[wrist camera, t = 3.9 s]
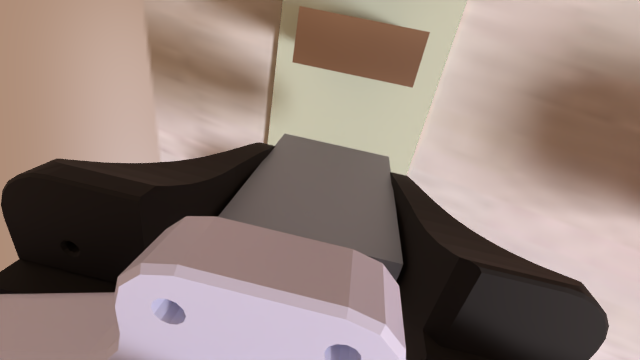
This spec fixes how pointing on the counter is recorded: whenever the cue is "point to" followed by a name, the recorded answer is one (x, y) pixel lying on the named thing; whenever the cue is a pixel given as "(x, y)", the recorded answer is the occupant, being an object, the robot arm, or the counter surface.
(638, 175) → the counter surface
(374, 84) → the mat
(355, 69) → the tile
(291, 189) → the tile
